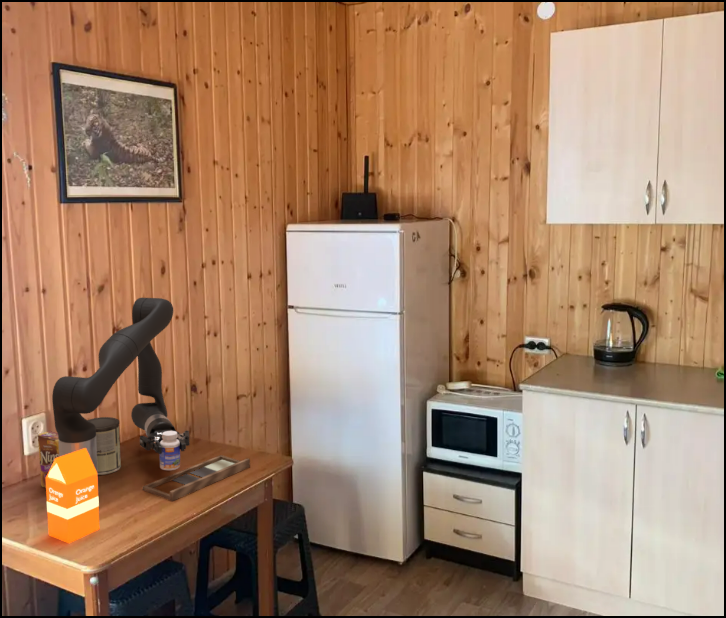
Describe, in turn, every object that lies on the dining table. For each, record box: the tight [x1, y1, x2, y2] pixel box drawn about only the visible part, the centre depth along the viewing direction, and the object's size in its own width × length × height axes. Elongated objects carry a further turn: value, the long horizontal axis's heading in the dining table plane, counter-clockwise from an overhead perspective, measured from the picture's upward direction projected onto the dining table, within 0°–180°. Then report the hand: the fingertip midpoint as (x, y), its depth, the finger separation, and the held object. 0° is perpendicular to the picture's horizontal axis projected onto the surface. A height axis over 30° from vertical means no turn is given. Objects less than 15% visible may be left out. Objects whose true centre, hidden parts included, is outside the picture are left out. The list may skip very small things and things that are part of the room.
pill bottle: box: [159, 430, 181, 471], centre depth 200 cm, size 5×5×10 cm
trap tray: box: [141, 454, 251, 502], centre depth 210 cm, size 30×12×2 cm, turn 146°
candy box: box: [37, 430, 59, 489], centre depth 200 cm, size 9×4×15 cm, turn 60°
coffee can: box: [87, 416, 122, 476], centre depth 215 cm, size 10×10×14 cm
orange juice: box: [45, 448, 100, 544], centre depth 175 cm, size 8×9×20 cm
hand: (171, 449), depth 197 cm, fingers closed on pill bottle, 5 cm apart
